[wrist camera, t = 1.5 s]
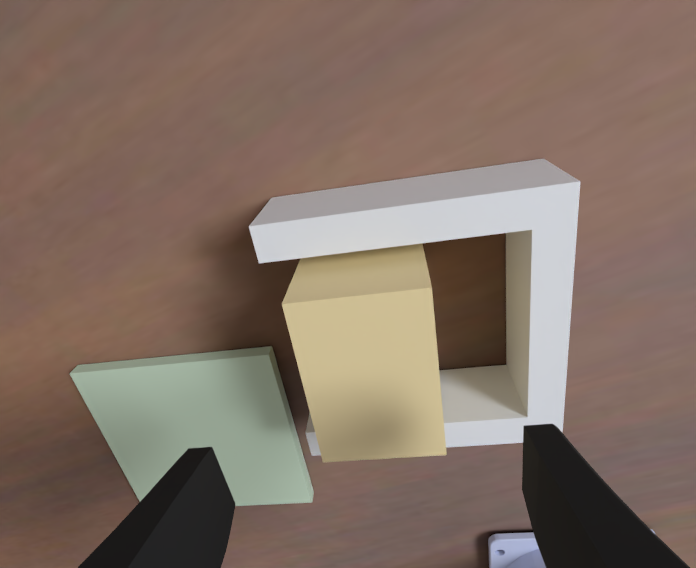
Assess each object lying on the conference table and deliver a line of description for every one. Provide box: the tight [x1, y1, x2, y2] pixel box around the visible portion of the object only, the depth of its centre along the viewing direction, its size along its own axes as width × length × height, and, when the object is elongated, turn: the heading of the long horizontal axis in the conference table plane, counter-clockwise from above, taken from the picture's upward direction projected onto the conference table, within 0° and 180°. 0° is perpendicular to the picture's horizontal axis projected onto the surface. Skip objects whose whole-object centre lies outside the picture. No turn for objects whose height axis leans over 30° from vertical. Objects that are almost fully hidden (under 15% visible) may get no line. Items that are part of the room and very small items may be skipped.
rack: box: [249, 159, 580, 456], centre depth 16 cm, size 9×9×3 cm
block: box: [282, 243, 447, 462], centre depth 15 cm, size 6×4×5 cm, turn 9°
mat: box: [70, 346, 314, 506], centre depth 21 cm, size 9×9×1 cm
